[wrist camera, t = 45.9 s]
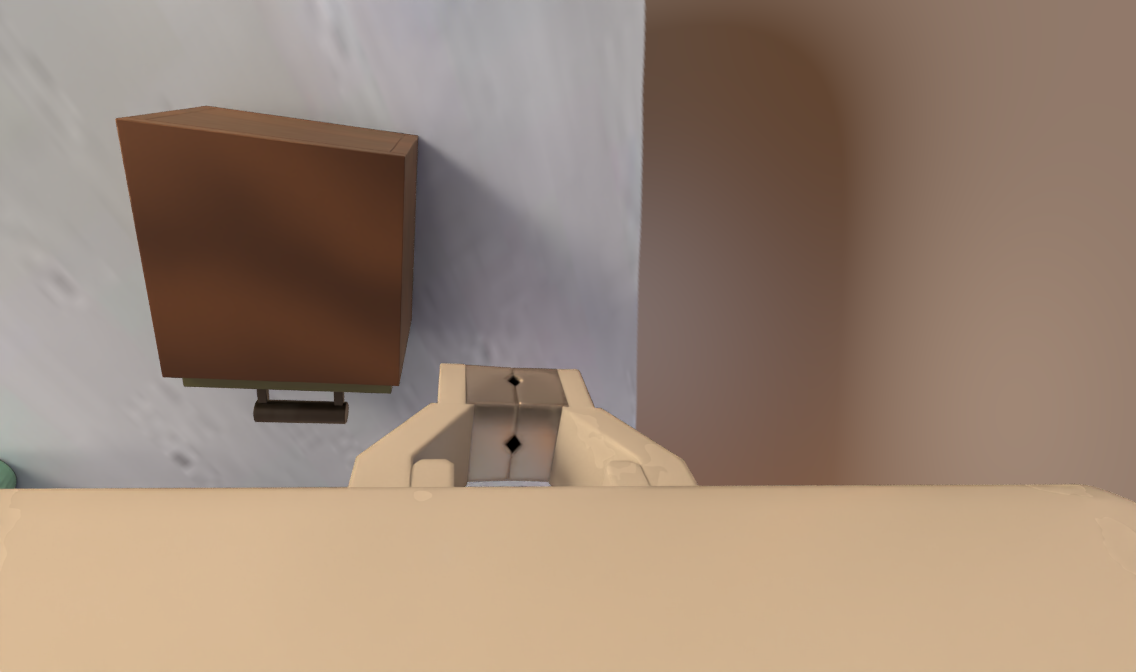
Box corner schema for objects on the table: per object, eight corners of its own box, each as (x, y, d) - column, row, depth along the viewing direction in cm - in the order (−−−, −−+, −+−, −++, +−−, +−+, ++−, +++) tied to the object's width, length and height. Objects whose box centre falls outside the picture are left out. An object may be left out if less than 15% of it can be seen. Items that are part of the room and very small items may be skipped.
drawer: (401, 378, 46) (390, 441, 39) (239, 372, 44) (191, 438, 36) (407, 170, 39) (394, 195, 31) (214, 146, 36) (146, 166, 28)
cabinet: (411, 320, 45) (399, 386, 36) (229, 308, 42) (162, 377, 33) (418, 135, 39) (405, 156, 30) (205, 105, 36) (114, 118, 27)
